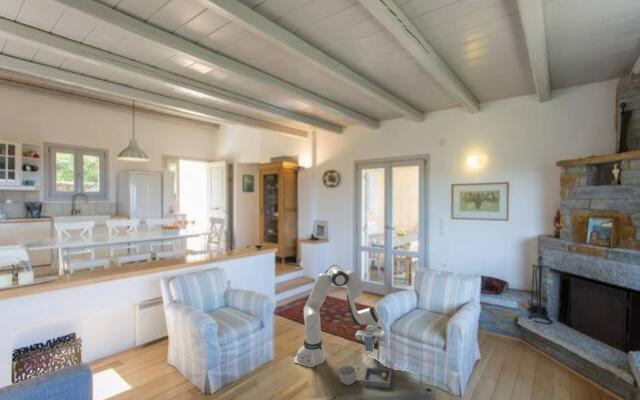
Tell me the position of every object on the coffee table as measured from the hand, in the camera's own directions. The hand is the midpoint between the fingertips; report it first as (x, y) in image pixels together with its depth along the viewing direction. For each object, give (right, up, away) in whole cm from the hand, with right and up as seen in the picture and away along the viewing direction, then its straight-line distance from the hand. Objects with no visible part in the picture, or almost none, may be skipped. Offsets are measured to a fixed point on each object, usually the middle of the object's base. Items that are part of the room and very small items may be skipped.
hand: (368, 341), depth 211 cm
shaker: (+1, -6, +1) cm, 6 cm away
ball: (+8, -16, -13) cm, 21 cm away
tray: (+3, -18, -13) cm, 23 cm away
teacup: (-13, -20, -12) cm, 27 cm away
